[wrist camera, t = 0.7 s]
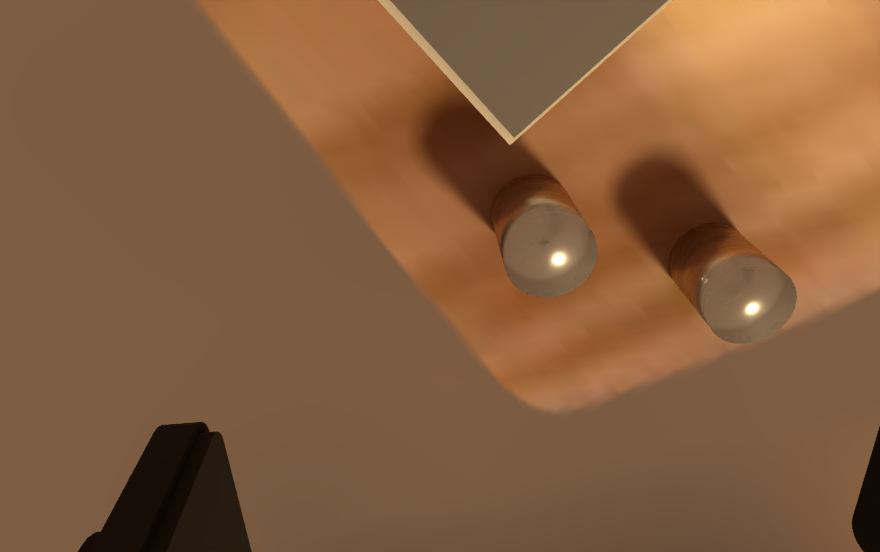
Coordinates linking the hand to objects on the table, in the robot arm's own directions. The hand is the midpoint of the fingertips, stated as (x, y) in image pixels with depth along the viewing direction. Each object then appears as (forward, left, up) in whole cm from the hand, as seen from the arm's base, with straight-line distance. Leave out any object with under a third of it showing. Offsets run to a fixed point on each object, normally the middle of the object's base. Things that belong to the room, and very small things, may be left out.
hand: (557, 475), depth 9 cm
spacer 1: (+2, +9, -29) cm, 30 cm away
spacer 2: (-4, +19, -29) cm, 35 cm away
